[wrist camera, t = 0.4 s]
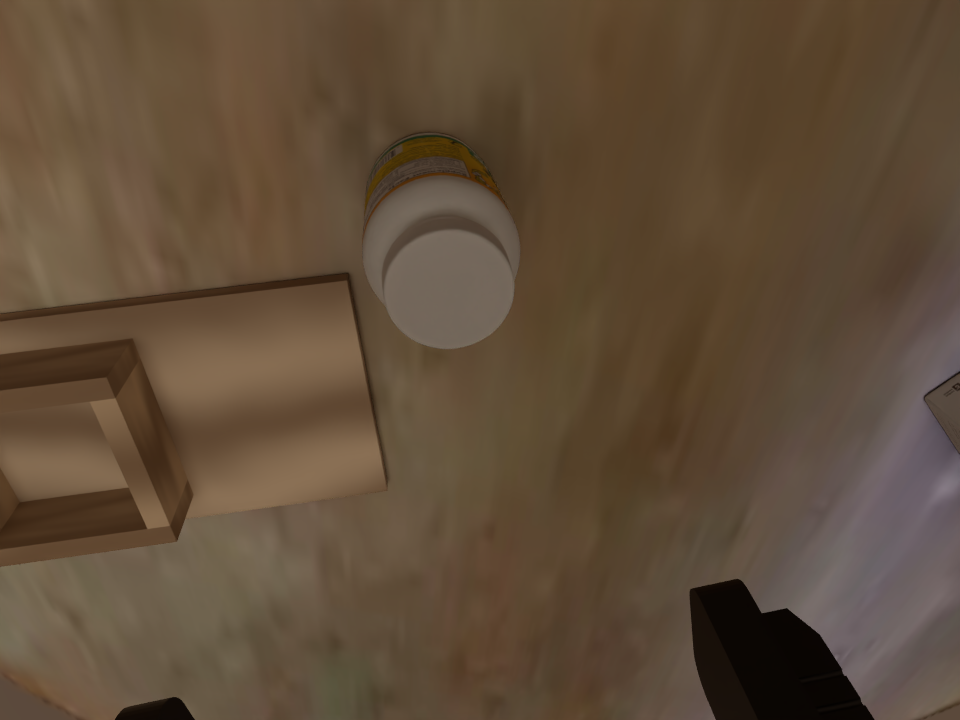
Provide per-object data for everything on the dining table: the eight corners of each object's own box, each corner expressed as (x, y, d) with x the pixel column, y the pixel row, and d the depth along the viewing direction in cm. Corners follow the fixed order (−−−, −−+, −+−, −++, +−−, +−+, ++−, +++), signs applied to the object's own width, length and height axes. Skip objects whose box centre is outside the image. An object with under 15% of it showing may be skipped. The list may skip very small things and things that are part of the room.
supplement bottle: (357, 135, 27) (346, 212, 19) (490, 125, 27) (537, 195, 19) (374, 261, 30) (371, 376, 21) (495, 250, 30) (537, 359, 22)
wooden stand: (-130, 329, 28) (-200, 379, 25) (347, 273, 30) (343, 313, 26) (-3, 534, 34) (-46, 597, 31) (387, 480, 36) (387, 535, 32)
